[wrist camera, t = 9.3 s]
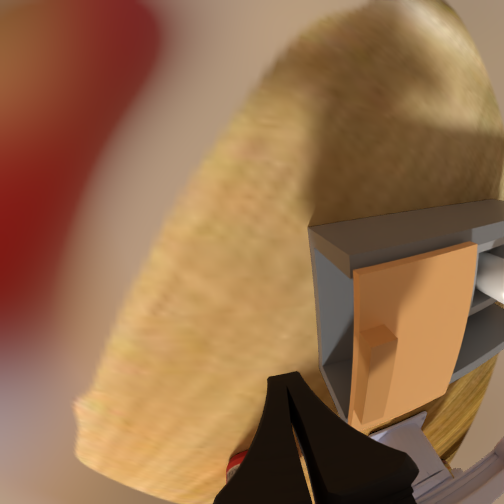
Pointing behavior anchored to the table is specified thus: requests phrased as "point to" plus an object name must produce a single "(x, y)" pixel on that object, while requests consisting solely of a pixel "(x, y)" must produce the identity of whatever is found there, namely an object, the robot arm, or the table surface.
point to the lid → (408, 331)
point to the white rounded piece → (490, 276)
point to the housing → (390, 249)
